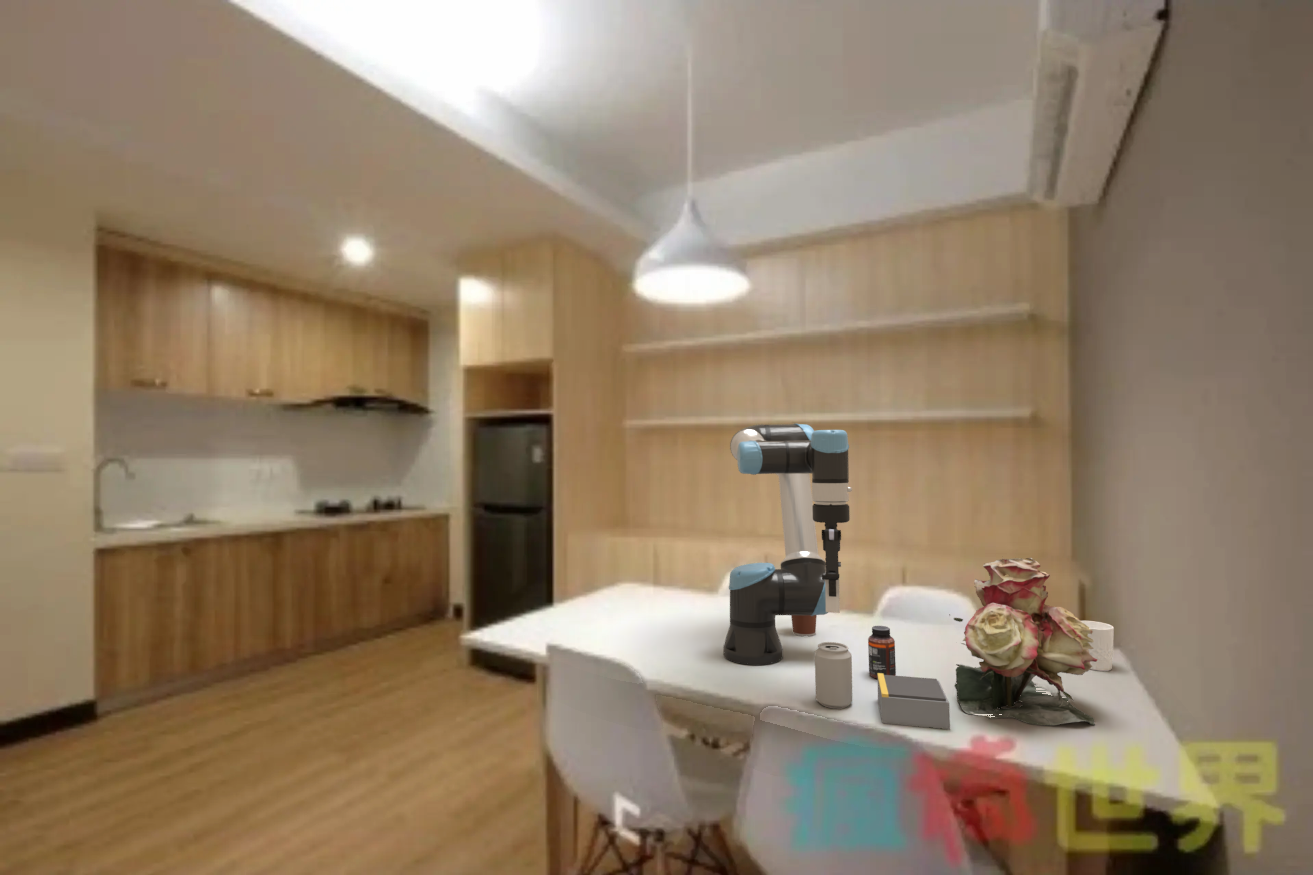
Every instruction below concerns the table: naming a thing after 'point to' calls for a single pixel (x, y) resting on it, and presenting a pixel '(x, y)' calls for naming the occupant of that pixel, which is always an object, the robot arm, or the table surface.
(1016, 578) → the rose bouquet
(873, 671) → the supplement bottle
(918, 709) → the block
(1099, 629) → the white cup
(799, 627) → the coffee cup
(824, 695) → the can
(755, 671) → the table surface
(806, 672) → the table surface
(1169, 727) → the table surface
